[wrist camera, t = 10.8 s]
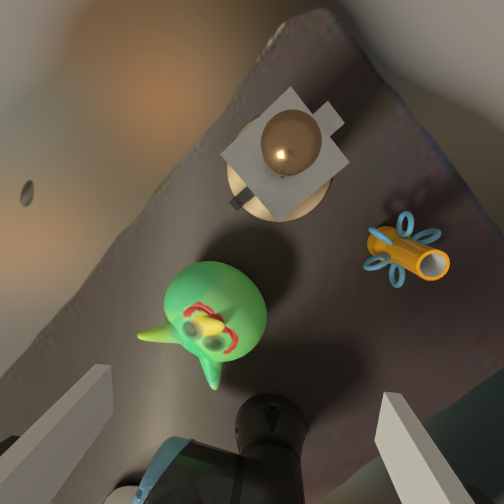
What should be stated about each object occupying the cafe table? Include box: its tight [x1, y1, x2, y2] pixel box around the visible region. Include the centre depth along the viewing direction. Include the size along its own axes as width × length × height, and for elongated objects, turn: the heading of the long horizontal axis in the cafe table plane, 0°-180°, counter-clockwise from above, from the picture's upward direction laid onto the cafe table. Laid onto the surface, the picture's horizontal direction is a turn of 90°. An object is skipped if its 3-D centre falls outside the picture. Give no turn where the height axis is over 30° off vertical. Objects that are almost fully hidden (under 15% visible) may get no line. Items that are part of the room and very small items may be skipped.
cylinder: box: [363, 211, 450, 288], centre depth 40 cm, size 12×10×15 cm
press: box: [221, 86, 349, 222], centre depth 37 cm, size 10×16×17 cm, turn 131°
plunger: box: [261, 109, 322, 178], centre depth 29 cm, size 7×7×20 cm
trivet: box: [227, 118, 331, 222], centre depth 46 cm, size 18×18×1 cm
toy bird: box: [137, 261, 267, 390], centre depth 45 cm, size 18×17×15 cm
